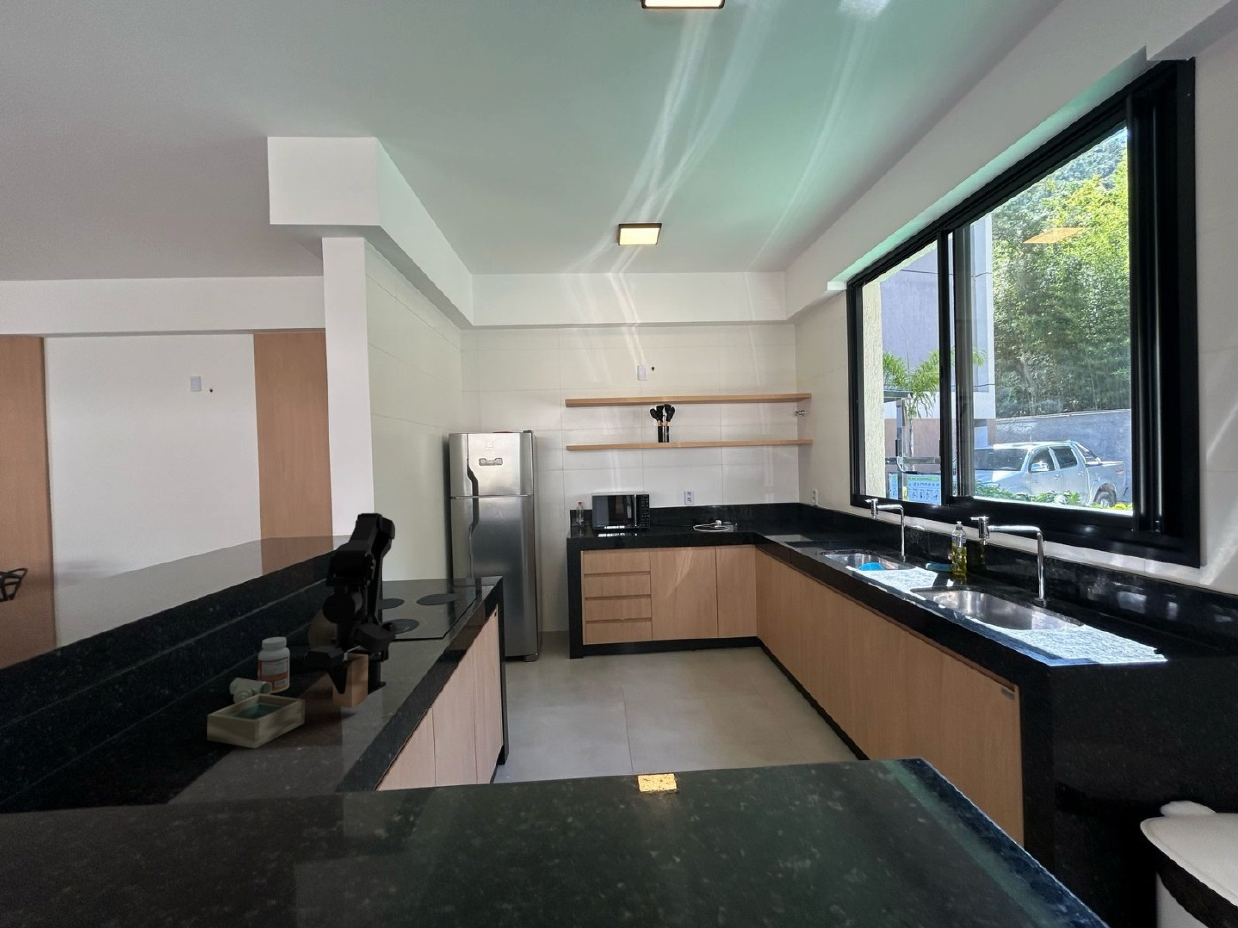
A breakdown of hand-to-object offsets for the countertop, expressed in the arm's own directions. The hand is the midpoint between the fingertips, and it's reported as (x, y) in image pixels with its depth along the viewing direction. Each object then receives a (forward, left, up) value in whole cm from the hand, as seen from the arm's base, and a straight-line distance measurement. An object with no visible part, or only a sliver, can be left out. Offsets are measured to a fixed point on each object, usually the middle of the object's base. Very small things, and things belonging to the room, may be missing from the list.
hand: (350, 689), depth 119 cm
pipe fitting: (0, -27, -6) cm, 28 cm away
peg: (0, 0, -3) cm, 3 cm away
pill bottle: (-6, -26, -5) cm, 27 cm away
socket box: (+11, -11, -5) cm, 17 cm away
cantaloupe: (-26, -26, -5) cm, 37 cm away
